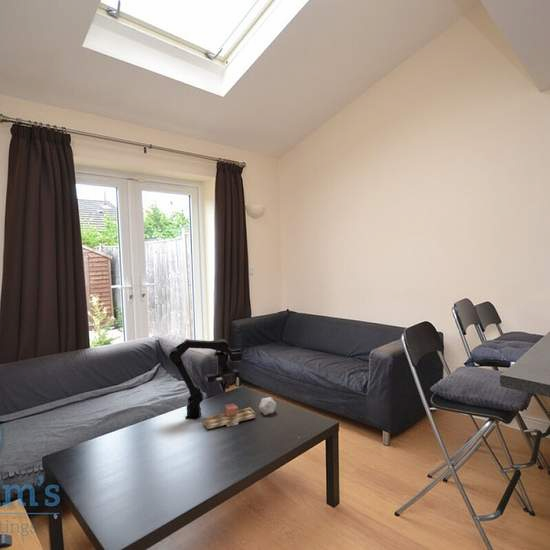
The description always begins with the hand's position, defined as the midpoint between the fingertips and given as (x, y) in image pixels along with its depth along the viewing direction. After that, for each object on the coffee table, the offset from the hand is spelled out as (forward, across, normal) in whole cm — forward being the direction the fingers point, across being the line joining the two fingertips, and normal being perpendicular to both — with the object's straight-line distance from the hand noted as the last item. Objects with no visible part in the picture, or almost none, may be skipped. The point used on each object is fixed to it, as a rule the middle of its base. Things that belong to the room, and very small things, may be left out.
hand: (223, 390), depth 197 cm
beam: (+12, -1, -12) cm, 17 cm away
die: (+12, +21, -12) cm, 27 cm away
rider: (+9, 0, -12) cm, 15 cm away
